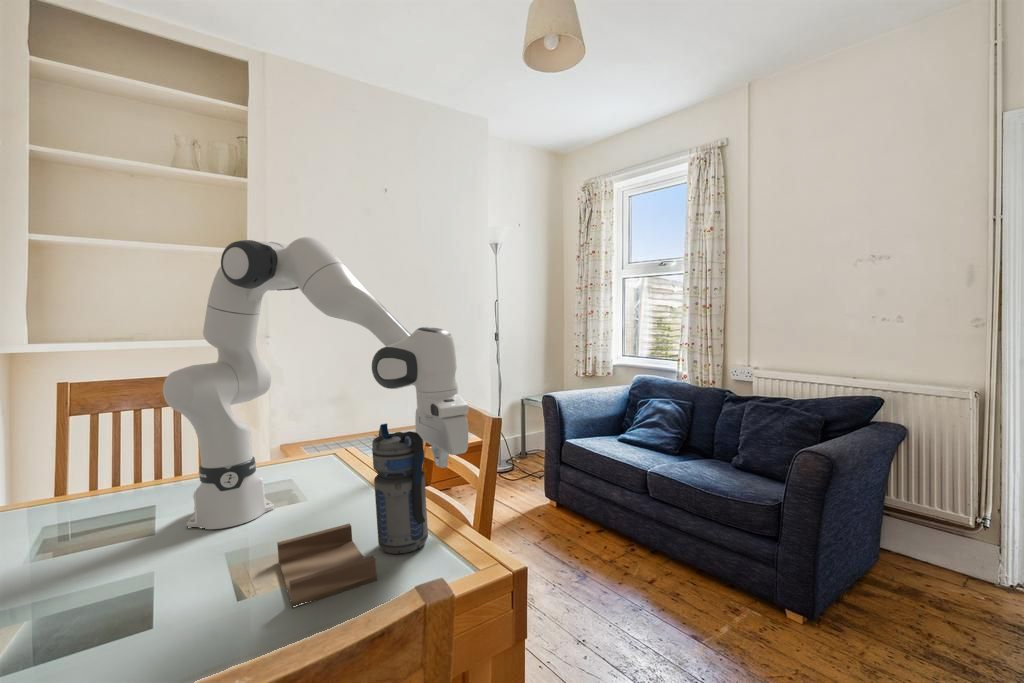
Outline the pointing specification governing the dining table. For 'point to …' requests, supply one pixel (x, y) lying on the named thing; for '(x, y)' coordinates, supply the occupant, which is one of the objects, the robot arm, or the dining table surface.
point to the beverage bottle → (400, 491)
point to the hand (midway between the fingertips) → (441, 466)
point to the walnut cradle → (323, 564)
